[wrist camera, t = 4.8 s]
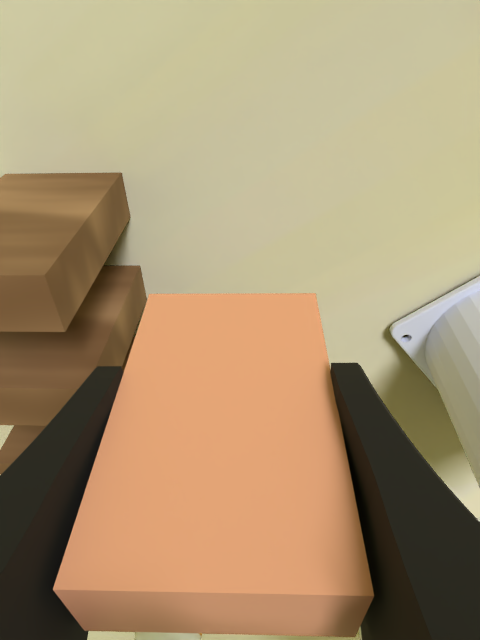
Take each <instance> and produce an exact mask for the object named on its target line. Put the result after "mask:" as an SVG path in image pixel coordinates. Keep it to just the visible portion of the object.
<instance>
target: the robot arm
mask: <svg viewBox="0 0 480 640" xmlns="http://www.w3.org/2000/svg"><path fill="white" fill-rule="evenodd" d="M390 332H391V335H392V337H393V338H394V339H395V340H396V342H397V343H398V344H399V345H400V346H401V347H402V349H403V350H404V351H405V352H406V353H407V354H408V356H409V357H410V358H411V359H412V360H413V361H414V363H415V364H416V365H417V366H418V367H419V368H420V370H421V371H422V372H423V373H424V374H425V375H426V377H427V378H428V379H429V380H430V381H431V382H432V384H433V385H434V386H435V387H436V388H437V389H438V391H439V393H440V396H441V398H442V400H443V403H444V405H445V408H446V410H447V412H448V415H449V417H450V419H451V422H452V424H453V426H454V429H455V431H456V433H457V436H458V438H459V440H460V443H461V445H462V447H463V450H464V452H465V454H466V457H467V459H468V461H469V464H470V466H471V468H472V471H473V473H474V475H475V478H476V480H477V482H478V485H479V487H480V276H479V277H477V278H475V279H473V280H471V281H469V282H468V283H466V284H464V285H462V286H460V287H459V288H457V289H455V290H453V291H451V292H449V293H448V294H446V295H444V296H442V297H440V298H438V299H437V300H435V301H433V302H431V303H429V304H428V305H426V306H424V307H422V308H420V309H418V310H417V311H415V312H413V313H411V314H409V315H408V316H406V317H404V318H402V319H400V320H398V321H397V322H395V323H394V324H392V325H391V327H390ZM404 335H408V336H407V337H402V336H404ZM330 374H331V379H332V385H333V390H334V395H335V400H336V405H337V409H338V412H339V417H340V422H341V427H342V432H343V438H344V443H345V448H346V453H347V458H348V463H349V468H350V474H351V479H352V484H353V489H354V494H355V499H356V504H357V510H358V515H359V520H360V525H361V530H362V535H363V540H364V546H365V551H366V556H367V561H368V566H369V571H370V577H371V582H372V587H373V592H374V598H373V600H372V602H371V604H370V606H369V608H368V610H367V613H366V615H365V617H364V619H363V621H362V623H361V625H360V627H361V635H362V640H480V522H479V521H478V520H477V519H476V518H475V516H474V515H473V514H472V513H471V512H470V511H469V510H468V509H467V508H466V507H465V506H464V504H463V503H462V502H461V501H460V500H459V499H458V498H457V497H456V496H455V495H454V493H453V492H452V491H451V490H450V489H449V488H448V487H447V485H446V484H445V483H444V482H443V481H442V480H441V478H440V477H439V476H438V475H437V474H436V472H435V471H434V470H433V469H432V468H431V466H430V465H429V464H428V463H427V461H426V460H425V459H424V458H423V456H422V455H421V454H420V453H419V451H418V450H417V449H416V447H415V446H414V445H413V444H412V442H411V441H410V440H409V438H408V437H407V435H406V434H405V433H404V431H403V430H402V429H401V427H400V426H399V424H398V423H397V422H396V420H395V419H394V418H393V416H392V415H391V413H390V412H389V410H388V409H387V407H386V406H385V404H384V403H383V401H382V400H381V398H380V397H379V395H378V394H377V392H376V391H375V389H374V388H373V386H372V384H371V383H370V381H369V379H368V378H367V376H366V374H365V373H364V371H363V369H362V367H361V366H360V365H359V364H358V363H331V370H330ZM122 376H123V370H122V366H97V367H96V368H95V369H94V370H93V372H92V373H91V374H90V375H89V376H88V377H87V379H86V380H85V381H84V382H83V383H82V385H81V386H80V387H79V388H78V389H77V391H76V392H75V393H74V394H73V396H72V397H71V398H70V399H69V400H68V401H67V403H66V404H65V405H64V406H63V407H62V409H61V410H60V411H59V412H58V413H57V414H56V416H55V417H54V418H53V419H52V420H51V421H50V422H49V424H48V425H47V426H46V427H45V428H44V429H43V430H42V431H41V433H40V434H39V435H38V436H37V437H36V438H35V439H34V440H33V442H32V443H31V444H30V445H29V446H28V447H27V448H26V449H25V450H24V451H23V452H22V453H21V454H20V455H19V456H18V457H17V458H16V459H15V461H14V462H13V463H12V464H11V465H10V466H9V467H8V468H7V469H6V470H5V471H4V472H3V473H2V474H1V475H0V640H87V636H88V631H84V629H83V628H82V627H81V626H80V624H79V623H78V622H77V620H76V619H75V618H74V616H73V615H72V614H71V613H70V611H69V610H68V609H67V607H66V606H65V605H64V603H63V602H62V601H61V600H60V598H59V597H58V596H57V594H56V593H55V592H54V591H53V587H54V584H55V581H56V578H57V575H58V572H59V569H60V566H61V563H62V560H63V557H64V554H65V551H66V548H67V545H68V541H69V538H70V535H71V532H72V529H73V526H74V523H75V520H76V517H77V514H78V511H79V508H80V505H81V502H82V499H83V496H84V492H85V489H86V486H87V483H88V480H89V477H90V474H91V471H92V468H93V465H94V462H95V459H96V456H97V453H98V450H99V447H100V443H101V440H102V437H103V434H104V431H105V428H106V425H107V422H108V419H109V416H110V413H111V410H112V407H113V404H114V401H115V398H116V394H117V391H118V388H119V385H120V382H121V379H122Z"/></svg>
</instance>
